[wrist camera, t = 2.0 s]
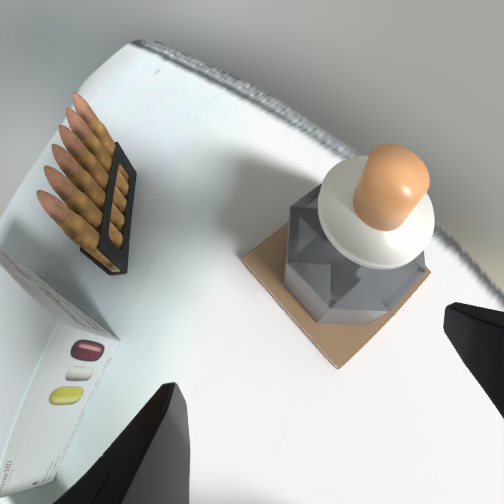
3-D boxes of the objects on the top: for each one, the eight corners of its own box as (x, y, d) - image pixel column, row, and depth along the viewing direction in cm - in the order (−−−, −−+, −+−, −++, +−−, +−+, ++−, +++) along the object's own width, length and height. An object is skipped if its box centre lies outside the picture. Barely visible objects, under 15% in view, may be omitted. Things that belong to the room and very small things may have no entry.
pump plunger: (414, 253, 20) (479, 185, 12) (354, 315, 19) (412, 269, 10) (351, 191, 22) (384, 102, 14) (287, 242, 21) (297, 158, 13)
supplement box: (56, 484, 18) (-11, 504, 9) (-21, 398, 21) (-84, 389, 12) (125, 341, 23) (57, 318, 15) (35, 270, 26) (-27, 231, 17)
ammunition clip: (120, 175, 29) (67, 89, 18) (136, 171, 29) (87, 82, 18) (108, 275, 25) (22, 208, 14) (127, 273, 25) (45, 202, 14)
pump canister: (426, 276, 24) (461, 248, 18) (336, 369, 22) (358, 366, 16) (339, 188, 27) (353, 144, 22) (243, 262, 25) (235, 228, 20)
